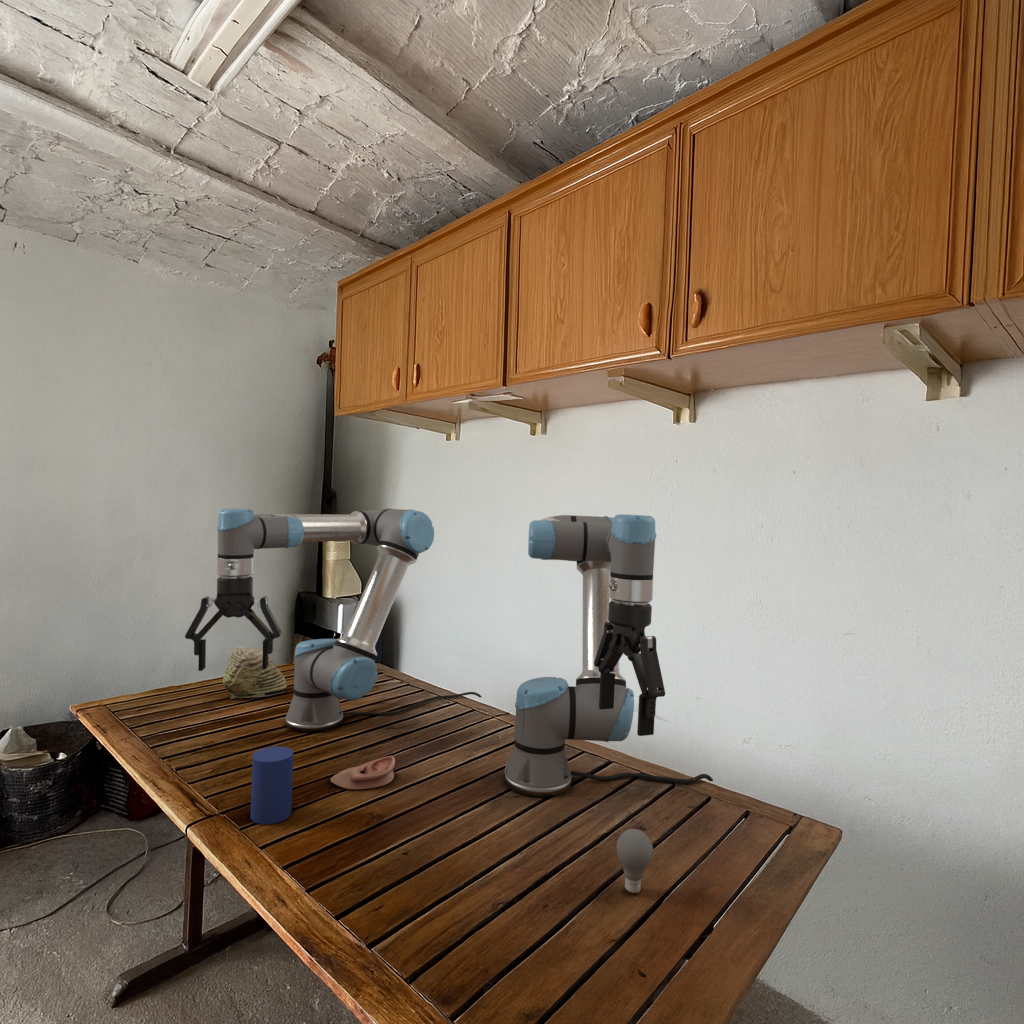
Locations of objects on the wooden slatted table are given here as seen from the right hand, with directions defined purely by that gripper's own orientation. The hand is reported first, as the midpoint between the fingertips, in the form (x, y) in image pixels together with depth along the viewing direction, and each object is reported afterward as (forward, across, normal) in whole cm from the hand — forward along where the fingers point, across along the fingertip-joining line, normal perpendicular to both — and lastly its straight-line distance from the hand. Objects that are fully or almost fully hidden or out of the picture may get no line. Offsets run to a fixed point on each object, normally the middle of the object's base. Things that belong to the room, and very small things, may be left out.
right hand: (624, 721), depth 112 cm
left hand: (+3, -59, -67) cm, 90 cm away
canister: (+26, -35, -58) cm, 73 cm away
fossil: (+26, -114, -64) cm, 134 cm away
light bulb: (+26, +7, -1) cm, 27 cm away
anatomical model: (+26, -46, -39) cm, 66 cm away
